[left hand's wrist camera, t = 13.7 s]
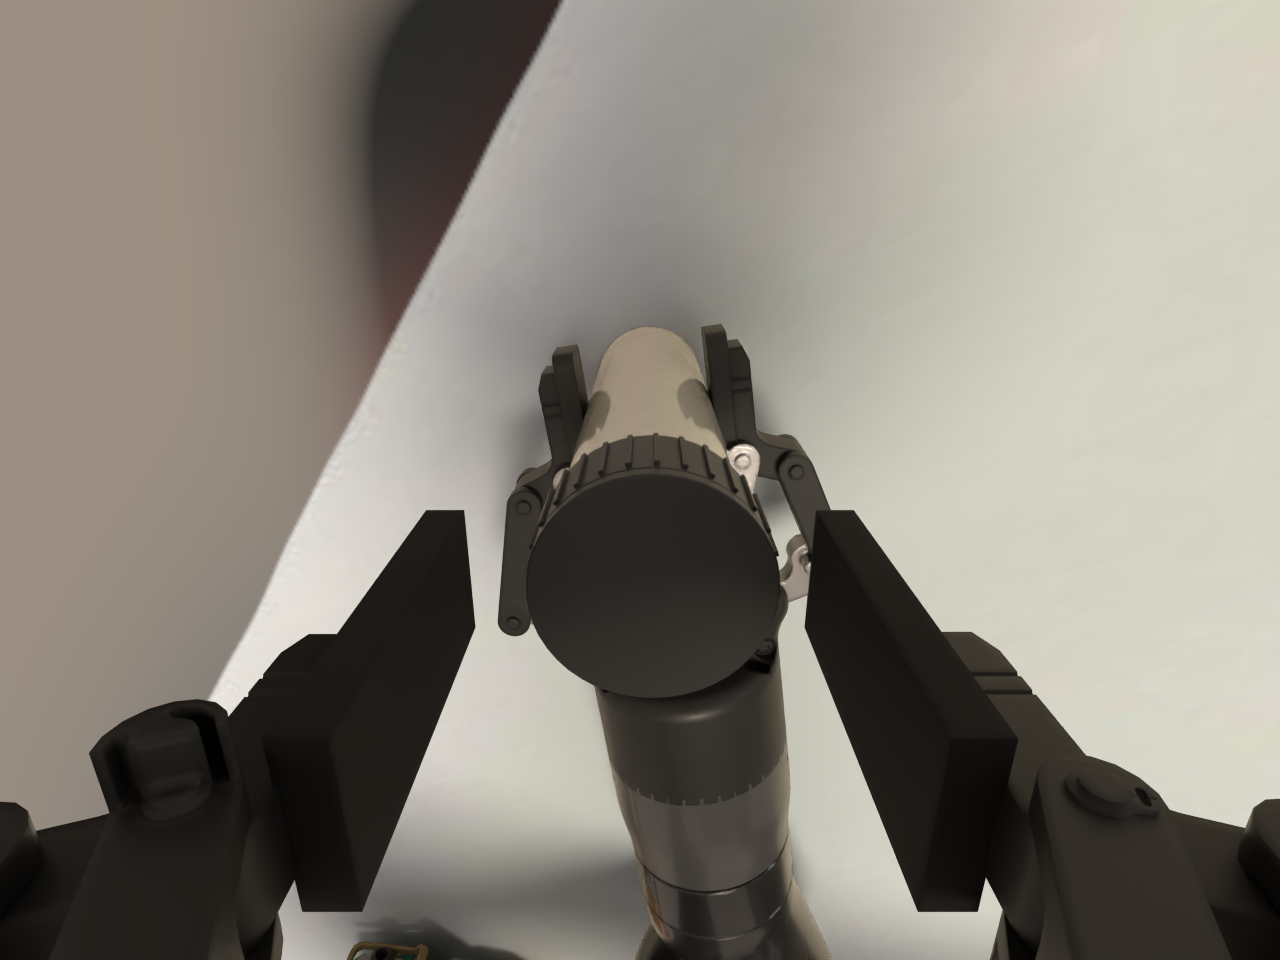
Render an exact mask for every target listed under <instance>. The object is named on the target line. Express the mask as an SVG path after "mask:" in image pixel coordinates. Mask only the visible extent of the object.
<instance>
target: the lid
mask: <svg viewBox="0 0 1280 960" xmlns="http://www.w3.org/2000/svg"><path fill="white" fill-rule="evenodd" d="M528 549H531V553H530V556H529V559H528V562H527V565H526V568H525V573H526V599H527V605H528V610H529V613H530V616H531V619H532V622H533V625H534V627H535V629H536V631H537V633H538V635H539V637H540V638H541V640H542V641H543V643H544V644H545V646H546V647H547V649H548V650H549V651H550V652H551V653H552V655H553V656H554V657H555V658H556V659H557V660H558V661H559V662H560V663H561V664H562V665H564V666H565V667H566V668H567V669H568V670H569V671H571V672H572V673H574V674H575V675H577V676H578V677H580V678H581V679H583V680H585V681H587V682H589V683H591V684H593V685H595V686H597V687H600V688H602V689H605V690H607V691H611V692H614V693H618V694H622V695H627V696H634V697H645V698H661V697H672V696H678V695H684V694H688V693H691V692H695V691H698V690H701V689H703V688H706V687H708V686H711V685H713V684H715V683H717V682H719V681H721V680H722V679H724V678H726V677H728V676H729V675H730V674H732V673H733V672H735V671H736V670H737V669H739V668H740V667H741V666H742V665H743V664H744V663H745V662H746V661H748V660H749V659H750V658H751V657H752V655H753V654H754V653H755V652H756V651H757V649H758V648H759V647H760V646H761V644H762V642H763V641H764V639H765V638H766V636H767V634H768V633H769V630H770V628H771V626H772V624H773V622H774V619H775V616H776V612H777V609H778V604H779V597H780V573H779V567H778V561H777V558H776V557H777V556H779V554H778V550H777V548H776V545H775V542H774V540H773V537H772V535H771V529H770V527H769V524H768V521H767V519H766V516H765V514H764V511H763V509H762V506H761V504H760V501H759V498H758V496H757V494H754V495H752V492H751V489H750V487H749V484H748V481H747V479H746V476H745V475H744V474H742V475H740V474H739V473H738V472H737V471H736V470H735V469H734V468H733V467H732V466H731V464H730V461H729V459H728V458H726V457H725V458H724V459H723V458H722V457H720V456H719V455H717V454H716V453H714V452H712V451H711V450H709V447H708V446H707V445H705V444H703V446H701V445H698V444H696V443H694V442H690V441H687V440H685V439H684V437H683V436H679V438H675V437H670V436H659V433H653V435H645V436H634V437H633V435H628V436H627V438H624V439H620V440H617V441H614V442H611V443H608V441H606V442H604V443H603V445H602V447H600V448H598V449H595V450H593V451H592V452H590V453H589V454H587V455H586V454H585V453H584V454H582V455H581V457H580V460H579V461H578V462H577V463H576V464H574V465H573V466H572V467H571V468H570V469H569V470H567V469H565V470H564V471H563V473H562V476H561V479H560V481H559V483H558V484H557V486H556V488H555V489H553V488H551V489H550V491H549V493H548V496H547V499H546V502H545V505H544V508H543V509H542V510H541V513H540V516H539V519H538V521H537V524H536V527H535V530H534V533H533V536H532V538H531V541H530V544H529V548H528Z"/></svg>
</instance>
